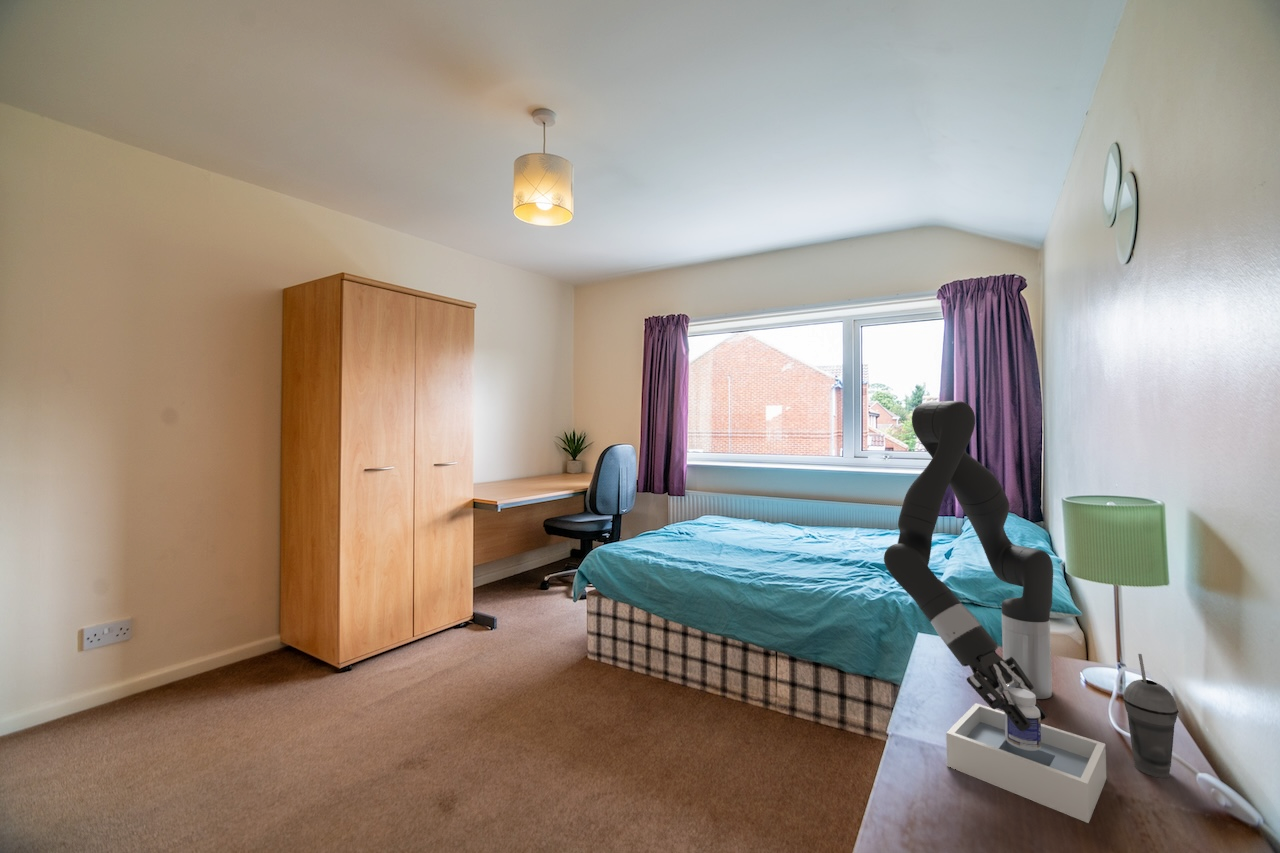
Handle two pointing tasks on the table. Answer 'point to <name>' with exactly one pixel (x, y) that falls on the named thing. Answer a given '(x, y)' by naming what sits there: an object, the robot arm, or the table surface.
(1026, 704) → the pill bottle
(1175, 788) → the table surface
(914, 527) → the robot arm
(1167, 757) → the beverage cup
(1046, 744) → the bore box
